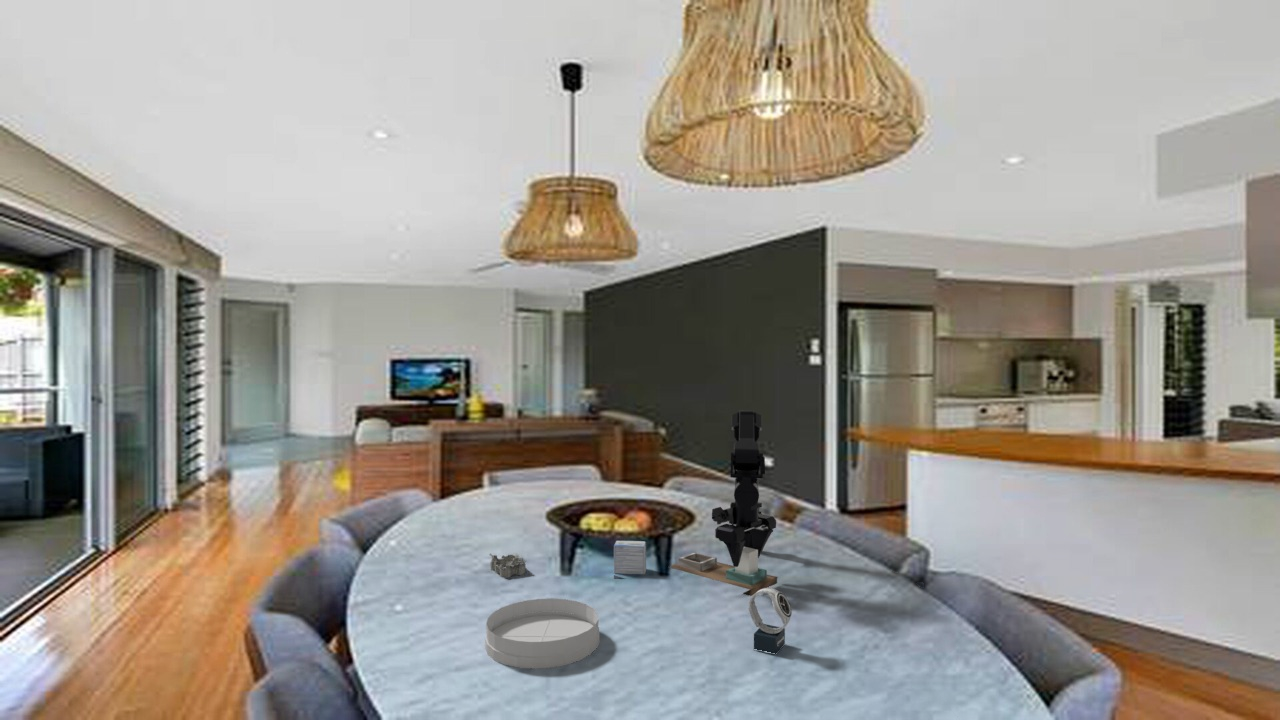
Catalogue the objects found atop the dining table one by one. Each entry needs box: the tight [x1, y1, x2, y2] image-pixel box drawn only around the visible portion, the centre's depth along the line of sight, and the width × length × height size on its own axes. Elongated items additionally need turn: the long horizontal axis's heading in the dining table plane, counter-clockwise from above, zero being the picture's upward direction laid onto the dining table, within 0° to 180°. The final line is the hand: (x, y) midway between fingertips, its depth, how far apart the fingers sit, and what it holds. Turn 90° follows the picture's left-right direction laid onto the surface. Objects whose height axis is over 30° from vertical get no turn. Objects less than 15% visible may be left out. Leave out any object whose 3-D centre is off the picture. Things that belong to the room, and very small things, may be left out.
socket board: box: [669, 552, 778, 597], centre depth 170 cm, size 12×25×4 cm, turn 48°
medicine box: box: [613, 540, 647, 580], centre depth 170 cm, size 8×4×9 cm, turn 84°
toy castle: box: [489, 553, 527, 578], centre depth 175 cm, size 11×8×4 cm
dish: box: [484, 598, 600, 670], centre depth 131 cm, size 22×22×5 cm
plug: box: [735, 547, 759, 575], centre depth 165 cm, size 4×4×7 cm
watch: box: [748, 587, 793, 655], centre depth 129 cm, size 6×8×11 cm
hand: (746, 562), depth 165 cm, fingers open, 9 cm apart
